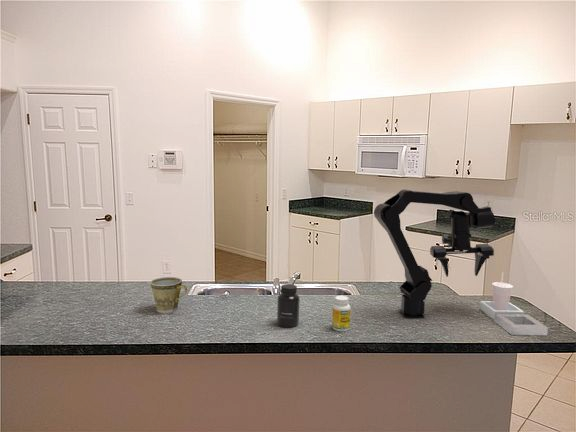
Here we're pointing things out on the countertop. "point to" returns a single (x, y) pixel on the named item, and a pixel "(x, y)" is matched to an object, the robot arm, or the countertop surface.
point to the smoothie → (501, 294)
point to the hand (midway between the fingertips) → (461, 276)
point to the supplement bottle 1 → (288, 306)
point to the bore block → (514, 324)
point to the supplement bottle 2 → (341, 314)
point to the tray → (489, 310)
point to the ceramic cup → (167, 293)
